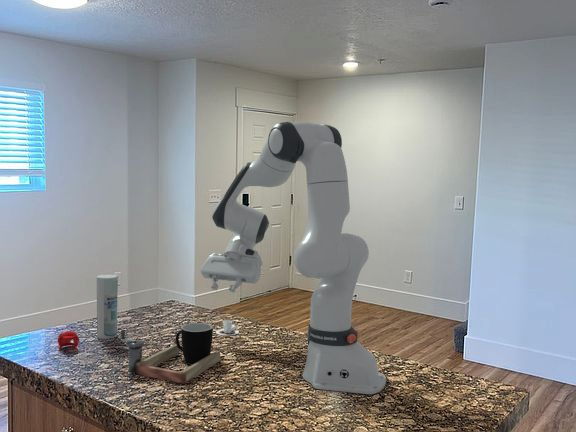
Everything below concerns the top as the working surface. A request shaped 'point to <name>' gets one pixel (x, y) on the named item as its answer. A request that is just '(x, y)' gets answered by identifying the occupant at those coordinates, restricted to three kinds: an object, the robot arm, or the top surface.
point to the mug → (195, 341)
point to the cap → (68, 339)
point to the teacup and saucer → (228, 328)
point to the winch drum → (133, 351)
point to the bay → (149, 369)
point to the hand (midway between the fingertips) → (222, 290)
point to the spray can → (107, 306)
